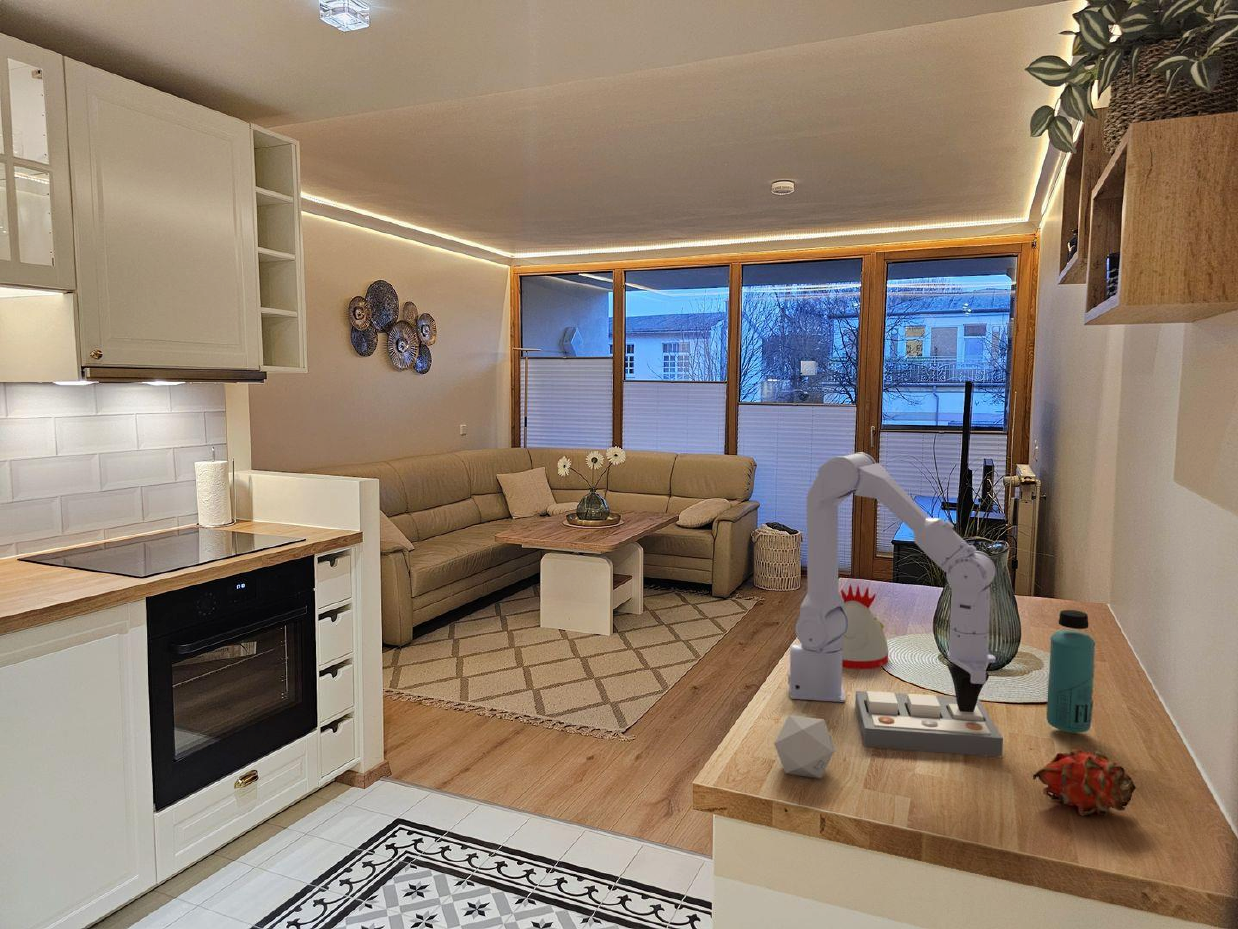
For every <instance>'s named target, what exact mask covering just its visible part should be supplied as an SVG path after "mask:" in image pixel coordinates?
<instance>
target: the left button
mask: <svg viewBox="0 0 1238 929" xmlns="http://www.w3.org/2000/svg"><path fill="white" fill-rule="evenodd" d="M866 692H867V694H866V703H867V707H868V711H869V713H875V714H890V715H898V702H897V699H896V697H895V694H894V693H895V692H889V691H875V690H874V691H872V690H871V691H870V690H866Z"/></svg>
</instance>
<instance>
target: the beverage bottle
mask: <svg viewBox="0 0 1238 929" xmlns="http://www.w3.org/2000/svg"><path fill="white" fill-rule="evenodd" d="M1058 625H1059V626H1062V627H1064V629H1059V630H1058V631H1056V632H1054V633H1053V634H1052V635H1050V637H1049V638H1050V646H1049V647H1050V648H1049V649H1050V652H1049V653H1050V654H1049V671H1048V672H1049V673H1048V679H1047V687H1046V689H1047V692H1046V694H1047V700H1046V702H1045V703H1046V704H1045V705H1046V707H1045V708H1046V709H1045V713H1046V716H1045V717H1046V720H1047V723H1048V725H1050V726H1051V727H1053V728H1055V729H1057V730H1060V731H1064V732H1069V733H1076V734H1077V733H1087V732H1088V731H1089V730H1090V728H1091V726H1092V724H1093V722H1092V721H1093V718H1092V715H1093V707H1094V703H1093V702H1094V700H1093V696H1094V695H1093V692H1094V690H1093V687H1094V684H1093V683H1094V677H1095V670H1096V669H1095V668H1096V667H1095V666H1096V665H1095V648H1096V647H1095V646H1096V641H1095V640H1094V639H1093V638H1092V637H1091V636H1090V634H1088V633H1087V632H1084V631H1081V630H1086V629H1088V628H1089V616H1088V613H1086V612H1083V611H1080V610H1076V609H1064V610H1061V611H1060V612H1059V618H1058ZM1065 628H1067V629H1065Z"/></svg>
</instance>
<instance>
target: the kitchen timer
mask: <svg viewBox="0 0 1238 929" xmlns="http://www.w3.org/2000/svg"><path fill="white" fill-rule="evenodd" d="M859 586H860V585H857V587H856V591H855V594H854V593H853V588H852V587H853V586H852V584H849V586H848V592H847V594H846V592H845V591H844V589H841V590H840V595H841V596H842V598H843V599H844V608H845V611H846V613H847V616H848V618H849V628H848V630H847V632H846V633H845V634H844V635H843V636H842V643H843V654H842V668H845V669H853V670H855V669H856V670H871V669H876V668H881V667H883V666H886V664H887V663H888V660H889V648H888V647H889V646H888V641H887V637H886V634H885V631H884V627H885V625H884V624H883V623H882V622H881V621H880V619H879V618H878V616H877V614H875V612H874V611H873V610H872V609H871V608H870V607H871V605H872V604H873V602H874V600H875V598H876V594H877V593H876V592H875V593H874V594H873V595H872V596H871V597H870V596H869V594H870V593H869V590H870V589H869V587H868V586H867V587H866V589H865V592H864V595H861V590H860V587H859Z"/></svg>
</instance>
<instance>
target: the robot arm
mask: <svg viewBox="0 0 1238 929" xmlns="http://www.w3.org/2000/svg"><path fill="white" fill-rule="evenodd" d="M852 494H854V495H855V496H857V497H862V498H863V497H864V498H871V499H875V500H877V501H878V502H880V503H881V504H882V505H883V506H885V508H887V510H888V511H890V512H891V513H892V514H894V516H895V517H896V518H897V519H899V520H900V521H902V523H904V525H906V526H907V527H908V528H909V529H910V530H912V532H913V540H914V544H916V546H918V548H919V549H920V550H921V551H923V553H925V554H926V555H927V557H929V559H931V560H932V562H934V564H936V565H937V566H938V567H939V568H940V569H941V570H942V571H943V572H945V573H946V574H945V575H946V576H945V577H946V581H947V583H948V585H949V586H950V588H951V600H950V621H949V622H950V624H949V642H948V644H949V645H948V646H949V647H948V652H947V659H948V661H950V662H948V663H946V666H947V669H948V671H949V673H950V676H951V678H952V682H953V686H954V687H953V688H954V692H955V697H956V701H957V705H958V708H959V710H960V711H961V712H974V709H975V706H976V703H977V700H978V699H979V696H980V694H981V691H982V689H983V687H984V685H986V682H987V681H988V680H989V677H990V675H989V673H988V672H987V671H986V670H987V668H988V666H989V664H990V663H991V664H995V663H996V661H997V660H996V657H995V656H994V655H993V654H989V637H990V636H989V635H990V634H989V633H990V616H991V612H990V611H991V600H990V599H991V598H990V597H991V586H989V585H990V584H991V583H992V582H993V580H994V579H995V576H996V573H997V572H996V571H997V570H996V565H995V563H994V562H993V560H992V559H991V557H990V556H989V554H988V553H986V552H984V551H980V550H977V547H976V546H974V545H973V544H971V545H970V544H968V542H967V541H965V540H964V538H963V537H961V536H960V535H959V534H958V533H957V532H956V531H955V530H954V527H955V525H954V524H953V523H952V522H951V521H949V520H947V521H946V522H945V520H944V519H942V518H939V517H931V516H928V515H927V513H926V512H925V511H924V510H923V509H922V508H921V507H920V506H919V505H918V504H917V502H915V501H914V499H912V498H911V497H910V496H909V494H908V493H907V492H906V491H905V490H904V489H903V488H902V486H900V485H899V484H898V483H897V482H896V481H895V480H894V478H893V477H892V476H891V475H890V474H889V472H888V471H887V470H886V469H885V467H884V466H883V465H882V464H880V463H878V462H876V460H875V459H874V458H873V457H872V456H871V454H867V453H865V452H860V451H859V452H853V453H852V454H847V455H843V456H839V455H838V456H835V457H832V458H830V459H828V460H827V461H825V462H824V463H823V464H822V465H820V466H819V467H818V468H817V476H816V477H815V479H814V481H813V483H812V485H811V486H810V489H809V490H808V492H807V496H806V555H807V558H806V561H807V562H806V563H807V566H806V568H807V570H806V573H807V574H806V575H807V579H806V580H807V593H806V596H805V597H804V599H803V601H802V603H801V604H800V607H799V612H800V613H799V617H798V619H797V621H796V624H795V635H796V637H797V638H796V639H797V640H798V641H799V642H798V643H790V649H789V650H790V652H789V653H790V655H789V656H790V657H789V673H788V675H787V684H788V685H789V694H790V696H789V697H790V699H796V700H807V701H821V702H822V701H823V702H824V701H825V702H835V703H836V702H838V703H844V702H846V696H845V691H844V687H843V667H842V654H843V643H842V636H843V635H844V634H845V633H846V632H847V630H848V628H849V618H848V616H847V613H846V611H845V608H844V599H843V598H842V594H841V593H839V505H841V504H842V503H843V502H845V501H846V500H847V499H848V498H849V497H850V496H851V495H852Z"/></svg>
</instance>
